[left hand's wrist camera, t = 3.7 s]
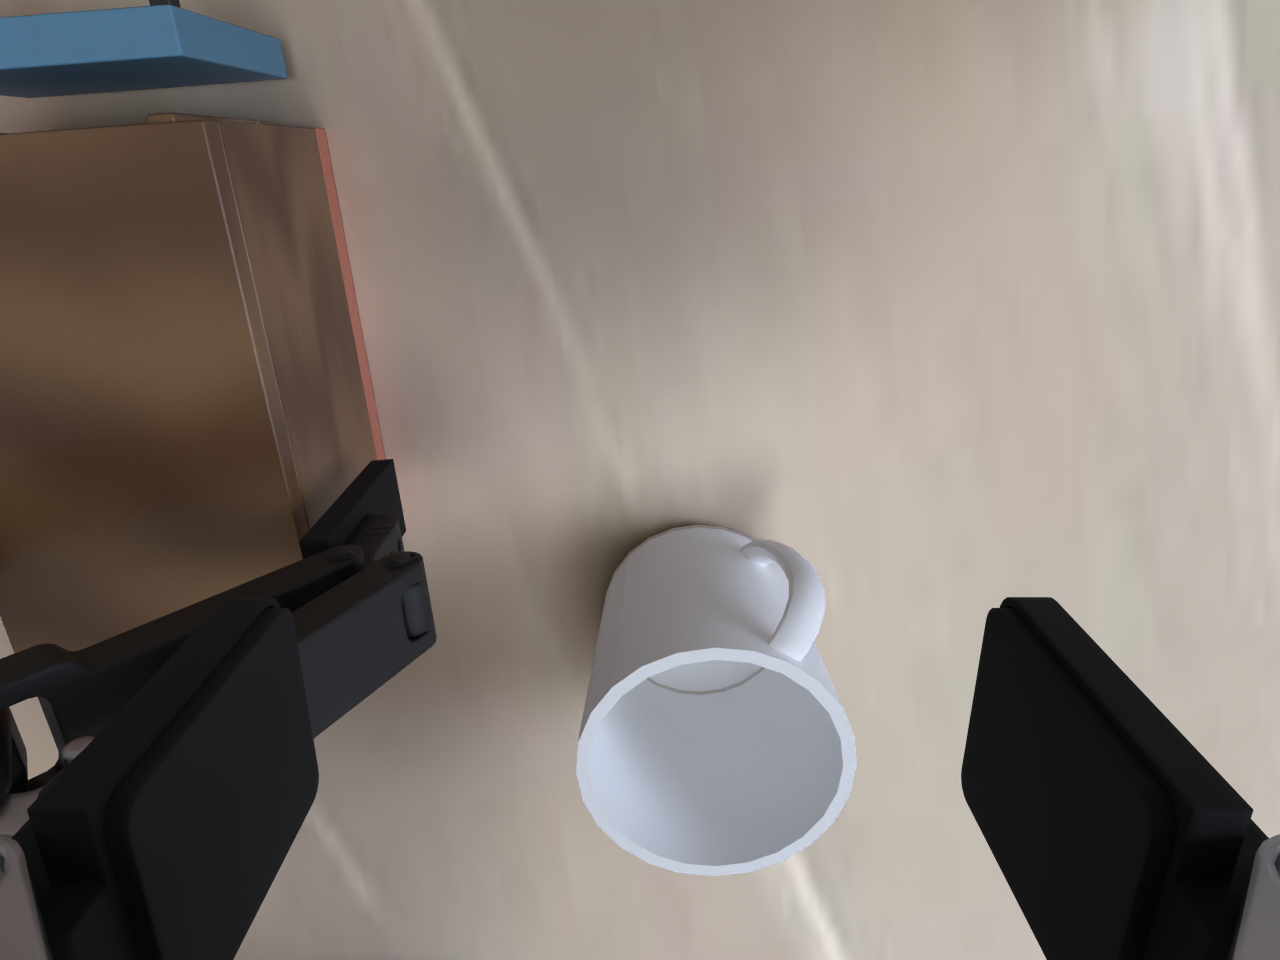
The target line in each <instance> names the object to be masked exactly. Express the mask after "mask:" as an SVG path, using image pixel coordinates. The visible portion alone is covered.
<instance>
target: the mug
mask: <svg viewBox="0 0 1280 960" xmlns="http://www.w3.org/2000/svg"><path fill="white" fill-rule="evenodd" d="M783 570H784V571H785V573H786V575H787V577H788V580H789V583H788V581H787V578H786V576H785V574H784V571H783ZM824 613H825V590H824V587H823V584H822V582H821V580H820V578H819V576H818V574H817V572H816V570H815V568H814V567H813V566H812V565H811V564H810V563H809V562H808V561H807V560H806V559H805V558H804V557H803V556H802V555H801V554H799V553H798V552H797V551H796V550H794V549H793V548H791V547H789V546H786V545H784V544H782V543H780V542H776V541H772V540H755V541H754V540H753V539H751V538H750V537H748V536H747V535H745V534H742V533H739V532H736V531H733V530H731V529H728V528H725V527H720V526H709V525H698V524H697V525H690V526H683V527H677V528H671V529H669V530H666V531H664V532H662V533H659V534H657V535H654V536H652V537H649V538H648V539H646V540H645V541H644V542H642V543H641V544H640V545H638V546H637V547H636V548H634V549H633V550H632V551H630V552H629V553H628V555H627V556H626V557H625V558H624V560H623V561H622V562H621V563H620V565H619V566H618V567H617V569H616V570H615V572H614V574H613V576H612V579H611V581H610V584H609V586H608V589H607V591H606V598H605V603H604V608H603V613H602V619H601V624H600V629H599V634H598V640H597V645H596V650H595V655H594V660H593V666H592V671H591V676H590V681H589V687H588V692H587V697H586V702H585V708H584V713H583V718H582V723H581V729H580V734H579V742H578V754H577V766H576V774H577V778H578V782H579V787H580V791H581V795H582V799H583V802H584V803H585V805H586V807H587V808H588V810H589V812H590V813H591V815H592V817H593V818H594V820H595V822H596V823H597V825H598V827H599V828H601V829H602V830H603V831H604V832H605V833H606V834H607V835H608V836H609V837H610V838H611V839H612V840H613V841H614V842H615V843H616V844H618V845H619V846H620V847H621V848H622V849H624V850H626V851H628V852H629V853H631V854H633V855H635V856H637V857H638V858H640V859H642V860H644V861H646V862H647V863H649V864H652V865H655V866H659V867H662V868H666V869H669V870H672V871H676V872H679V873H684V874H697V875H709V876H721V875H730V874H738V873H746V872H752V871H755V870H758V869H761V868H764V867H767V866H770V865H773V864H776V863H779V862H782V861H784V860H786V859H787V858H789V857H791V856H792V855H794V854H796V853H797V852H799V851H801V850H802V849H804V848H806V847H807V846H809V845H811V844H812V843H813V842H814V841H815V840H816V839H817V838H818V837H819V836H820V835H821V834H822V833H823V832H824V831H825V830H826V829H827V828H828V827H829V826H830V825H831V824H832V823H833V822H834V821H835V820H836V818H837V816H838V815H839V813H840V811H841V810H842V808H843V806H844V804H845V803H846V801H847V799H848V797H849V796H850V793H851V789H852V784H853V780H854V776H855V771H856V767H857V761H856V751H855V740H854V734H853V731H852V728H851V726H850V723H849V721H848V719H847V717H846V714H845V712H844V710H843V707H842V705H841V703H840V700H839V698H838V696H837V694H836V691H835V689H834V687H833V684H832V682H831V680H830V678H829V675H828V673H827V671H826V668H825V666H824V664H823V661H822V659H821V657H820V655H819V652H818V650H817V648H816V645H815V643H814V640H815V638H816V636H817V634H818V632H819V630H820V626H821V623H822V620H823V616H824Z"/></svg>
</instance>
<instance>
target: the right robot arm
mask: <svg viewBox="0 0 1280 960" xmlns="http://www.w3.org/2000/svg"><path fill="white" fill-rule="evenodd" d="M405 532H406V527H405V522H404V516H403V511H402V505H401V500H400V494H399V489H398V483H397V478H396V472H395V467H394V461H393V459H387V460H371V462H370V463H369V464H368V465H367V466H366V467H365V468H364V469H363V471H362V472H361V473H360V474H359V475H358V476H357V477H356V478H355V479H354V481H353V482H352V483H351V484H350V485H349V486H348V487H347V488H346V490H345V491H344V492H343V493H342V494H341V495H340V496H339V497H338V499H337V500H336V501H335V502H334V503H333V504H332V505H331V506H330V507H329V509H328V510H327V511H326V512H325V513H324V514H323V515H322V516H321V518H320V519H319V520H318V521H317V522H316V523H315V524H314V525H313V526H312V528H311V529H310V530H309V531H308V532H307V533H306V534H305V535H304V537H303V538H302V539H301V540H300V541H299V545H300V549H301V553H302V558H303V559H302V560H300V561H297V562H295V563H293V564H290V565H288V566H285V567H283V568H280V569H278V570H275V571H273V572H271V573H268V574H266V575H263V576H261V577H258V578H256V579H253V580H251V581H248V582H246V583H244V584H241V585H239V586H236V587H234V588H231V589H229V590H226V591H224V592H222V593H219V594H217V595H214V596H212V597H209V598H207V599H204V600H202V601H200V602H197V603H195V604H192V605H190V606H187V607H185V608H182V609H180V610H177V611H175V612H173V613H170V614H168V615H165V616H163V617H160V618H158V619H155V620H153V621H151V622H148V623H146V624H143V625H141V626H138V627H136V628H133V629H131V630H129V631H126V632H124V633H121V634H119V635H116V636H114V637H111V638H109V639H106V640H104V641H102V642H99V643H97V644H94V645H92V646H89V647H87V648H84V649H82V650H78V651H68V650H66V649H64V648H62V647H60V646H58V645H56V644H48V643H44V644H40V645H36V646H33V647H30V648H28V649H25V650H22V651H20V652H17V653H15V654H12V655H10V656H7V657H5V658H2V659H0V835H4V836H6V837H8V838H12V837H13V836H14V835H15V834H16V833H17V832H18V830H19V829H20V828H21V827H22V826H23V825H24V824H25V823H26V822H27V821H28V820H29V816H28V813H27V809H28V808H29V807H30V806H31V805H32V804H33V802H34V801H35V800H36V799H37V798H38V797H39V796H40V795H41V794H42V793H43V792H44V791H45V790H46V789H47V788H48V787H49V786H50V784H51V783H52V782H53V781H54V780H55V779H56V778H57V777H58V776H59V775H60V774H61V773H62V772H63V771H64V770H65V769H66V768H67V766H68V765H69V764H70V763H71V762H72V761H73V760H74V759H75V758H76V757H77V756H78V755H79V754H80V753H81V752H82V751H83V750H84V748H85V747H86V746H87V745H88V744H89V743H90V742H91V741H92V740H93V739H94V738H95V737H96V736H97V735H98V734H99V733H100V732H101V730H102V729H103V728H104V727H105V726H106V725H107V724H108V723H109V722H110V721H111V720H112V719H113V718H114V717H115V716H116V715H117V714H118V712H119V711H120V710H121V709H122V708H123V707H124V706H125V705H126V704H127V703H128V702H129V701H130V700H131V699H132V698H133V697H134V696H135V694H136V693H137V692H138V691H139V690H140V689H141V688H142V687H143V686H144V685H145V684H146V683H147V682H148V681H149V680H150V679H151V678H152V676H153V675H154V674H155V673H156V672H157V671H158V670H159V669H160V668H161V667H162V666H163V665H164V664H165V663H166V662H167V661H168V660H169V658H170V657H171V656H172V655H173V654H174V653H175V652H176V651H177V650H178V649H179V648H180V647H181V646H182V645H183V644H184V643H185V641H186V640H187V639H188V638H189V637H190V636H191V635H192V634H193V633H194V632H195V631H196V630H197V629H198V628H199V627H200V626H201V625H202V623H203V622H204V621H205V620H206V619H207V618H208V617H209V616H210V615H211V614H212V613H213V612H214V611H215V610H216V609H217V608H218V607H219V605H220V604H221V603H222V602H223V601H224V600H226V599H227V598H231V597H273V598H274V599H276V600H277V602H278V604H279V605H280V608H288V609H289V610H290V611H291V613H292V615H293V619H294V625H295V631H296V637H297V643H298V649H299V655H300V661H301V667H302V673H303V679H304V686H305V692H306V698H307V704H308V710H309V716H310V722H311V728H312V734H313V739H314V738H315V737H316V736H318V735H319V734H320V733H321V732H323V731H324V730H325V729H326V728H328V727H329V726H330V725H332V724H333V723H334V722H335V721H337V720H338V719H339V718H341V717H342V716H343V715H344V714H346V713H347V712H348V711H350V710H351V709H352V708H353V707H355V706H356V705H357V704H359V703H360V702H361V701H362V700H364V699H365V698H366V697H368V696H369V695H370V694H371V693H373V692H374V691H375V690H377V689H378V688H379V687H380V686H382V685H383V684H384V683H385V682H387V681H388V680H389V679H391V678H392V677H393V676H394V675H396V674H397V673H398V672H400V671H401V670H402V669H403V668H405V667H406V666H407V665H409V664H410V663H411V662H412V661H414V660H415V659H416V658H418V657H419V656H420V655H421V654H423V653H424V652H425V651H427V650H428V649H429V648H430V647H432V645H433V644H434V643H435V642H436V638H437V637H436V631H435V625H434V620H433V614H432V608H431V603H430V597H429V591H428V586H427V580H426V574H425V569H424V563H423V557H422V556H421V555H420V554H418V553H416V552H407V551H406V552H404V547H403V542H402V536H403V535H404V533H405ZM33 697H38V699H39V701H40V704H41V707H42V709H43V712H44V715H45V717H46V720H47V722H48V725H49V728H50V730H51V733H52V735H53V738H54V741H55V743H56V746H57V748H58V751H59V759H58V761H57V762H56V764H55V766H53V767H52V768H51V769H49V770H48V771H46V772H44V773H42V774H40V775H38V776H36V777H34V778H32V779H30V780H28V771H27V753H26V748H25V745H24V743H23V740H22V738H21V735H20V733H19V730H18V728H17V725H16V723H15V720H14V718H13V715H12V713H11V710H10V708H9V706H12V705H14V704H16V703H19V702H21V701H23V700H26V699H28V698H33Z"/></svg>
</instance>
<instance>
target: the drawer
mask: <svg viewBox="0 0 1280 960" xmlns="http://www.w3.org/2000/svg"><path fill="white" fill-rule="evenodd" d="M149 2H150V6H143V7H130V8H117V9H104V10H91V11H78V12H65V13H52V14H40V15H27V16H14V17H1V18H0V95H5V96H15V97H26V98H33V97H47V96H60V95H74V94H87V93H100V92H114V91H127V90H141V89H154V88H167V87H181V86H194V85H208V84H221V83H234V82H248V81H261V80H275V79H286V78H287V73H286V68H285V62H284V57H283V52H282V47H281V42H280V39H277V38H274V37H270V36H267V35H264V34H261V33H258V32H255V31H251V30H248V29H245V28H242V27H239V26H236V25H232V24H229V23H226V22H223V21H220V20H217V19H214V18H210V17H207V16H204V15H201V14H198V13H195V12H191V11H188V10H185V9H182V8H181V7H180V3H179V0H149ZM190 120H213V121H225V122H238V123H250V124H262V125H273V124H272V122H270V121H257V120H246V119H235V118H224V117H213V116H202V115H191V114H180V113H161V114H149V115H148V116H147V122H148V124H149V123H162V122H176V121H190ZM0 134H9V133H0Z"/></svg>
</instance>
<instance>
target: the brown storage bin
mask: <svg viewBox="0 0 1280 960" xmlns="http://www.w3.org/2000/svg"><path fill="white" fill-rule="evenodd" d="M371 460H385V455H384V449H383V444H382V438H381V433H380V427H379V422H378V416H377V411H376V406H375V400H374V395H373V389H372V384H371V378H370V373H369V367H368V362H367V356H366V351H365V346H364V340H363V335H362V329H361V324H360V318H359V313H358V307H357V302H356V297H355V291H354V286H353V280H352V275H351V269H350V264H349V258H348V253H347V247H346V242H345V237H344V231H343V226H342V220H341V215H340V209H339V204H338V198H337V193H336V188H335V182H334V177H333V171H332V166H331V160H330V155H329V149H328V144H327V138H326V133H325V129H319V128H312V129H311V128H299V127H287V126H275V125H262V124H250V123H238V122H225V121H213V120H190V121H176V122H162V123H149V124H135V125H121V126H108V127H94V128H81V129H67V130H53V131H40V132H26V133H12V134H0V616H1V619H2V621H3V624H4V626H5V629H6V632H7V634H8V637H9V640H10V642H11V645H12V647H13V650H14V653H17V652H20V651H22V650H25V649H28V648H30V647H33V646H36V645H40V644H44V643H48V644H56V645H58V646H60V647H62V648H64V649H66V650H68V651H78V650H82V649H84V648H87V647H89V646H92V645H94V644H97V643H99V642H102V641H104V640H106V639H109V638H111V637H114V636H116V635H119V634H121V633H124V632H126V631H129V630H131V629H133V628H136V627H138V626H141V625H143V624H146V623H148V622H151V621H153V620H155V619H158V618H160V617H163V616H165V615H168V614H170V613H173V612H175V611H177V610H180V609H182V608H185V607H187V606H190V605H192V604H195V603H197V602H200V601H202V600H204V599H207V598H209V597H212V596H214V595H217V594H219V593H222V592H224V591H226V590H229V589H231V588H234V587H236V586H239V585H241V584H244V583H246V582H248V581H251V580H253V579H256V578H258V577H261V576H263V575H266V574H268V573H271V572H273V571H275V570H278V569H280V568H283V567H285V566H288V565H290V564H293V563H295V562H297V561H300V560H302V559H303V558H302V553H301V549H300V545H299V541H300V540H301V539H302V538H303V537H304V535H305V534H306V533H307V532H308V531H309V530H310V529H311V528H312V526H313V525H314V524H315V523H316V522H317V521H318V520H319V519H320V518H321V516H322V515H323V514H324V513H325V512H326V511H327V510H328V509H329V507H330V506H331V505H332V504H333V503H334V502H335V501H336V500H337V499H338V497H339V496H340V495H341V494H342V493H343V492H344V491H345V490H346V488H347V487H348V486H349V485H350V484H351V483H352V482H353V481H354V479H355V478H356V477H357V476H358V475H359V474H360V473H361V472H362V471H363V469H364V468H365V467H366V466H367V465H368V464H369V463H370V462H371Z"/></svg>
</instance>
